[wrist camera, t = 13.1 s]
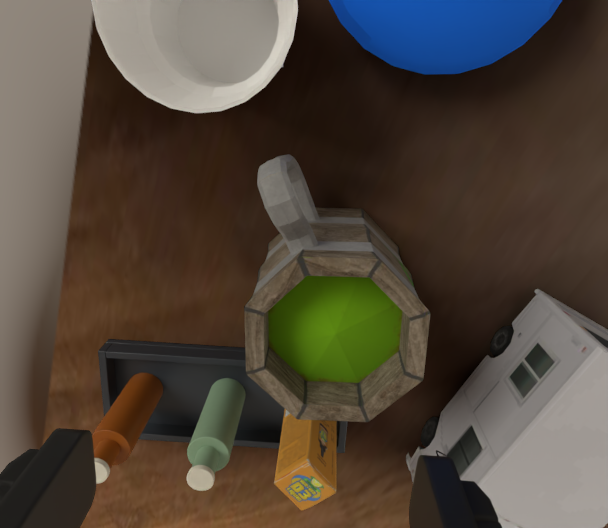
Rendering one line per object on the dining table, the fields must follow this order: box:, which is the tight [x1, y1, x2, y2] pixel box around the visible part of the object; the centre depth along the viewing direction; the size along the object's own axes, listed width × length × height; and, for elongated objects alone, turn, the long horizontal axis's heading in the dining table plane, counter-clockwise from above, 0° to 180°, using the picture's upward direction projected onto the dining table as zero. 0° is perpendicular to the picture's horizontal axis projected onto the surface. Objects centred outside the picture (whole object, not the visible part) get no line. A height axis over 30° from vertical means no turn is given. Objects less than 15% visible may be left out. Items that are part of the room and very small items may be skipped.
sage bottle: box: [187, 378, 246, 491], centre depth 37 cm, size 3×3×10 cm
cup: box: [91, 0, 298, 113], centre depth 29 cm, size 10×10×10 cm
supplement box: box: [274, 409, 337, 511], centre depth 37 cm, size 3×3×10 cm
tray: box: [98, 339, 348, 453], centre depth 41 cm, size 20×8×2 cm, turn 87°
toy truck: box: [406, 289, 608, 528], centre depth 37 cm, size 13×20×10 cm, turn 137°
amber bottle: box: [92, 373, 163, 483], centre depth 37 cm, size 3×3×10 cm
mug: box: [244, 154, 431, 422], centre depth 32 cm, size 16×11×12 cm
